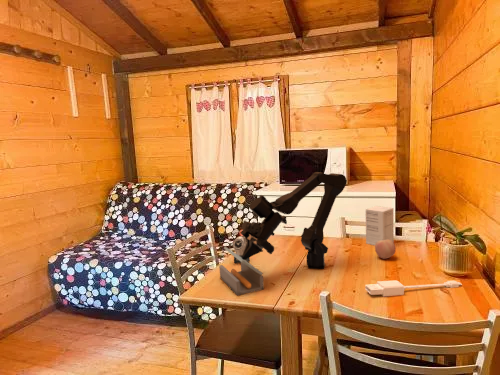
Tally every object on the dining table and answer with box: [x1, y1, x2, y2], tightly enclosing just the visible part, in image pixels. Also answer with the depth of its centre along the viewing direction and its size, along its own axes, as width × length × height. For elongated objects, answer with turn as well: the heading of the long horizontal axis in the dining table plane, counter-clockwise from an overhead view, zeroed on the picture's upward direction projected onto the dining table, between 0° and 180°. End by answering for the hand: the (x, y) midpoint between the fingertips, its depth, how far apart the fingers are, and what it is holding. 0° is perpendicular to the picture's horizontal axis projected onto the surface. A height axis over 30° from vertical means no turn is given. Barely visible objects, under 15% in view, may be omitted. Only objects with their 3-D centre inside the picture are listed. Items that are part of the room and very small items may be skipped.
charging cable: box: [364, 280, 463, 297], centre depth 118 cm, size 5×32×3 cm, turn 96°
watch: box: [232, 236, 251, 264], centre depth 154 cm, size 6×8×11 cm
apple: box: [374, 239, 396, 260], centre depth 149 cm, size 8×8×8 cm
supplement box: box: [365, 205, 395, 246], centre depth 168 cm, size 10×9×17 cm
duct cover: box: [223, 246, 264, 275], centre depth 131 cm, size 10×18×1 cm
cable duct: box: [219, 262, 265, 297], centre depth 132 cm, size 10×18×5 cm, turn 23°
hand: (242, 259), depth 131 cm, fingers closed, pressing on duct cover
